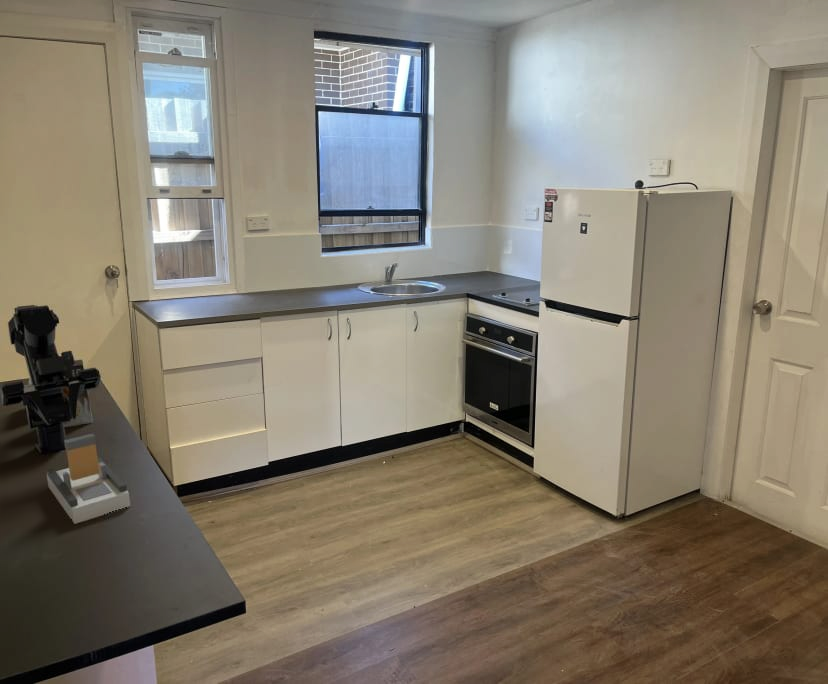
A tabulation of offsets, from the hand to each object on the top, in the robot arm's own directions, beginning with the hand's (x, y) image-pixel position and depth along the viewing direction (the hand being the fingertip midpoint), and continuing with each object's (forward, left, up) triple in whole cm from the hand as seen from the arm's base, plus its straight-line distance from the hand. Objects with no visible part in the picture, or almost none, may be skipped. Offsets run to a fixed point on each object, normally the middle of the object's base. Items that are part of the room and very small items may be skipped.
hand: (62, 421), depth 140 cm
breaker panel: (+14, 0, -12) cm, 19 cm away
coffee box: (-34, +9, -12) cm, 37 cm away
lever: (+14, 0, -8) cm, 16 cm away
